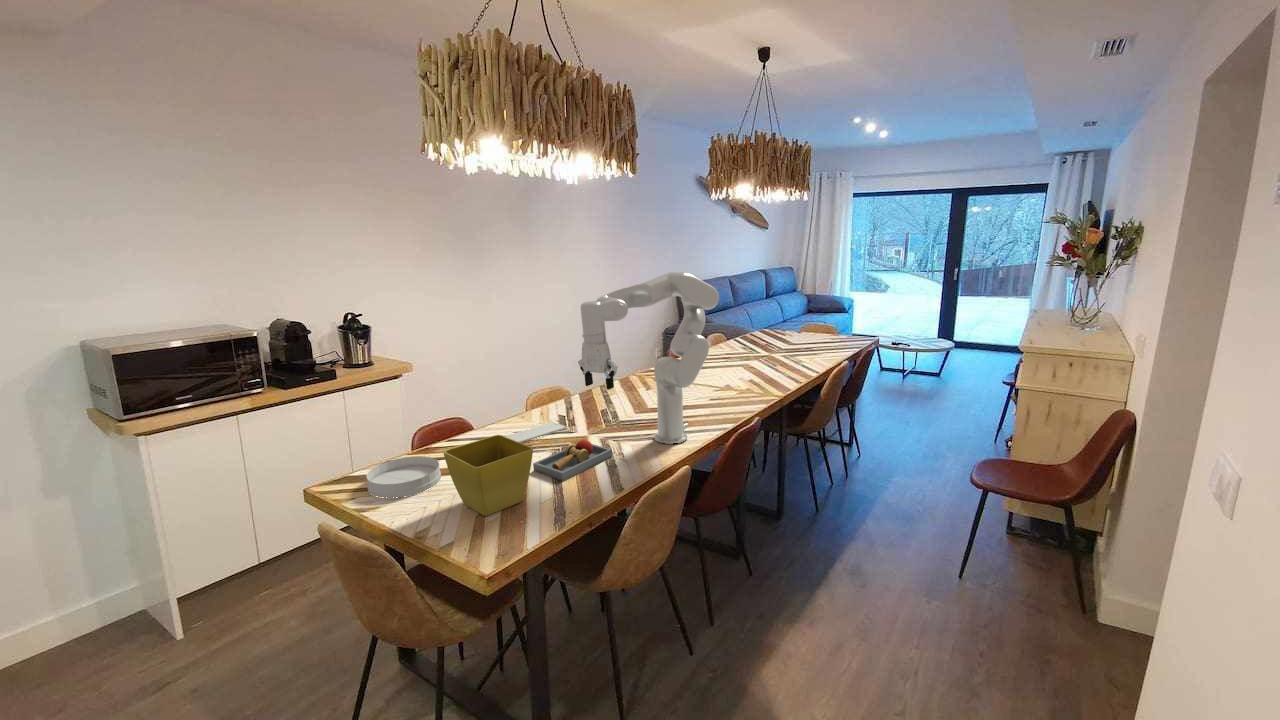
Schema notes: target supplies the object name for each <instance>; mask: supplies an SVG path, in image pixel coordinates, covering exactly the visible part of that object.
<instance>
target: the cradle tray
mask: <svg viewBox="0 0 1280 720" xmlns="http://www.w3.org/2000/svg"><path fill="white" fill-rule="evenodd" d="M591 444H592V447H593V450H592V453H591V454H590V455H589V456H588V457H587V459H586V461H583V462H581V463H580V462H578V461H577V458H576V457H574V458H573V459H572V460H571V461H570V462H569V463H568V464H567V465H565V466H564V467H563V468H562V469H561V470H557V469H554V468H552V465H553V464H554V463H556V462H558V461H560V460H561V459H563V458H565V457H566V455H565V450H566V448H565V449H563V450H561V451H558V452H555V453H554V454H551V455H549V456H547V457H545V458H542V459H540V460H537V461H535V462H533V463H532V465H533V472H535V471H536V472H535V473H538V472H539V473H538V474H540V473H541V474H540V475H543V474H544V476H547V477H549V478H552V479H555V480H558V481H560V482H565V481H567V480H569V479H571V478H573V477H575V476H577V475H579V474H581V473H583V472H585V471H586V470H589V469H591V468H593V467H594V466H597V465H600V464H601V463H604V462H605V461H607V460H608V459H611V458H613V450H612V449H611V448H608V447H604V446H601V445H597V444H593V443H591ZM573 445H574V446H575V447H576V445H577V443H576V444H573Z"/></svg>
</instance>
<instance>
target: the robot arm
mask: <svg viewBox="0 0 1280 720" xmlns="http://www.w3.org/2000/svg"><path fill="white" fill-rule="evenodd" d="M673 297H679V298H680V301H681V303H682V306H683V307H682V308H683V317H682V318H683V319H682V321H681V323H680V325H679V327H678V328H677V331H676V332H675V334H674V336H673V338H672V340H671V342H670V348H669V349H670V351H671V352H672V354H674V355H675V356H678V357H679V358H680V359H678V358H676V357H671V356H663V357H661V358H659V359H658V360H657V361H656V363H654V369H653V372H654V373H653V374H654V380H655V385H656V396H657V397H656V401H657V405H656V407H657V432H656V433H655V434H654V435H653V439H654V440H655V442H657V443H659V442H660V444H662V443H665V445H674V444H673V443H678V444H682V443H684V442H686V441H687V440H688V434H687V433H686V432H685V430H686V429H687V428H689V426H690V425H689V423H687V422H685V423H684V406H683V404H684V403H683V402H684V401H683V400H684V395H683V394H684V392H683V389H685V388H688V387H690V386H691V385H692V384H693V383H694V382H695V380H696V378H697V377H698V375H699V374H700V372H701V369H702V367H704V366H703V365H704V364H705V362H706V360H707V357H708V355H709V351H710V350H709V349H710V344H709V342H708V340H707V338H706V337H704V336H703V335H702V334H703V333H702V332H703V331H704V328H705V326H706V314H705V313H706V312H705V310H708V311H709V310H713V309H715V307H716V306H717V305H718V304H719V301H720V295H719V292H718V290H717V289H716V288H715V287H714V286H713V285H711V284H709V283H707V282H705V281H703V280H702V279H700V278H698V277H696V276H695V275H693V274H691V273H688V272H681V271H680V272H679V271H670V272H666V273H664V274H661V275H659V276H656V277H654V278H652V279H650V280H649V279H648V280H647V281H645V282H642V283H639V284H634V285H631V286H628V287H624V288H620V289H617V290H613V291H612V292H608V293H606V294H604V295H601V296H600V297H598V298H597V299H596V300H591V301H589V300H588V301H584V302H582V303H581V304H580V316H581V317H580V318H581V325H582V326H581V327H582V338H583V342H582V344H581V345H582V346H581V359H580V360H578V361H577V363H578V365H579V367H580V368H579V369H580V370H581V371H582V375H584V384H585V386H586V387H589V386H591V385H593V384H594V381H593V380H594V379H593V373H597V374H604V376H605V377H606V378H605V388H606V390H608V391H609V390H611V389H614V388H615V384H614V383H615V382H614V381H615V380H614V378H615V375H616V374H617V372H618V371H617V370H618V368H619V366H618V365H617V363H615V362H614V361H613V360H612V355H611V352H610V346H609V343H608V341H607V335H606V334H607V333H606V332H607V331H606V322H618V321H621V320H623V319H625V318H626V317H627V315H628V313H629V309H634V308H636V309H637V308H647V307H651V306H654V305H656V304H659V303H660V302H661V303H662V302H663V301H665V300H668V299H671V298H673ZM685 440H686V441H685ZM683 441H684V442H683ZM681 442H682V443H681Z"/></svg>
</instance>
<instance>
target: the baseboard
mask: <svg viewBox="0 0 1280 720" xmlns="http://www.w3.org/2000/svg"><path fill="white" fill-rule="evenodd" d="M553 420H554V419H553ZM559 423H560V424H559ZM564 425H565V426H564ZM563 429H565V430H567V426H566V423H565V424H561V421H560V420H554V421H550V422H548V423H544V424H541V425H538V426H535V427H531V428H529V429H525V430H522V431H518V432H514V433H512V434H508V435H507V434H506V435H505V437H507V438H510V439H512V440H515V441H517V442H519V443H521V442H523V443H525V442H524V441H526V442H528V440H529V441H532V440H531V439H533V440H535V439H534V438H536V439H538V438H537V437H539V438H541V437H540V436H542V437H545V436H548V434H549V435H551V433H552V434H554V432H555V433H558V432H561V431H564V430H563ZM560 430H561V431H560ZM557 431H558V432H557ZM544 435H545V436H544Z"/></svg>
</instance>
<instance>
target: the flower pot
mask: <svg viewBox="0 0 1280 720" xmlns="http://www.w3.org/2000/svg"><path fill="white" fill-rule="evenodd" d="M505 436H506V435H505ZM505 436H504V435H502V434H495V435H492V436H489V437H485V438H481V439H478V440H476V441H471V442H469V443H465V444H461V445H459V446H458V445H457V446H454V447H451V448H449V449H446V450H443V452H442V453H443V457H444V460H445V463H446V466H447V470H448V473H449V475H450V478H451V481H452V483H453V485H454V487H455V489H456V491H457V493H458V495H459V497H460V499H461V501H462V503H463V504H464V505H466V506H467V507H469V508H471V509H472V510H474V511H475V512H477V513H479V515H481V516H484V517H486V516H490V515H492V514H494V513H497V512H499V511H501V510H504V509H507V508H509V507H512V506H515V505H516V504H519V503H521V502H522V501H523V498H524V495H525V492H526V489H527V486H528V482H529V478H530V472H531V468H532V462H533V460H532V459H533V452H534V448H533V447H532V446H530V445H529V446H528V445H526V444H524V443H519V442H517V441H515V440H512V439H510V438H507V437H505Z"/></svg>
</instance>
